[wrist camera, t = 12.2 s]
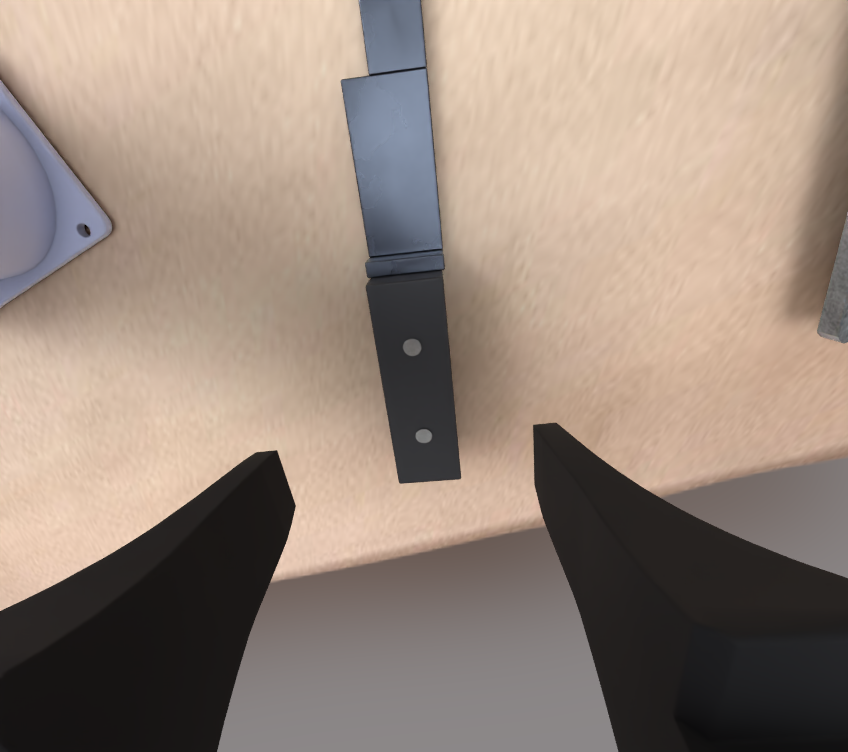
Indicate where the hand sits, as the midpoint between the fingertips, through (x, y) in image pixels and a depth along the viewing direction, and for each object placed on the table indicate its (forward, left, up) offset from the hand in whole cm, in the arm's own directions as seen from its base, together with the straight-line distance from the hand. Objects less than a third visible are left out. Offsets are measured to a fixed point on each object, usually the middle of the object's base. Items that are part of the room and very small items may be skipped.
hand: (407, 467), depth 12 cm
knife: (+2, +4, -8) cm, 9 cm away
